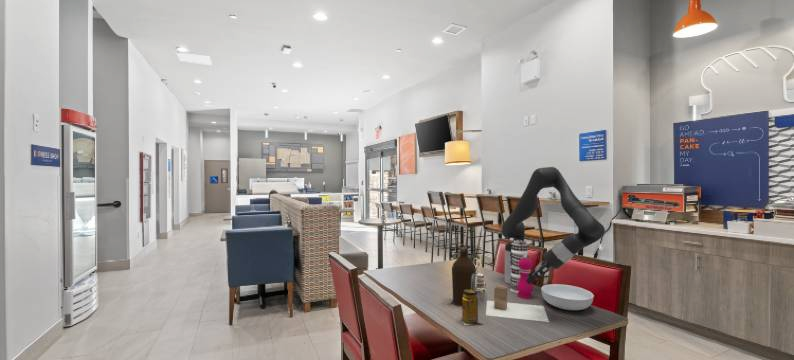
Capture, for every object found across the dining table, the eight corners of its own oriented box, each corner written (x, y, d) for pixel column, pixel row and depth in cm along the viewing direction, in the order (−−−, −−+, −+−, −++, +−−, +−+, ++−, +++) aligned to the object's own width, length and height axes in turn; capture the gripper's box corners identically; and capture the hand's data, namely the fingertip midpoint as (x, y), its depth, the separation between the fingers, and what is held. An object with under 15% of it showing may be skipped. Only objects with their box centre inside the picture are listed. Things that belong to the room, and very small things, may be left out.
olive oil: (449, 306, 159) (450, 249, 158) (453, 298, 169) (454, 245, 168) (474, 309, 155) (475, 251, 155) (476, 301, 165) (477, 246, 165)
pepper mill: (515, 298, 170) (515, 255, 169) (517, 293, 176) (518, 252, 176) (531, 300, 166) (532, 257, 166) (533, 296, 173) (534, 254, 172)
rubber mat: (487, 301, 165) (487, 300, 165) (543, 306, 159) (543, 306, 159) (485, 316, 148) (485, 315, 148) (549, 322, 141) (549, 321, 141)
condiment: (459, 318, 145) (459, 288, 145) (479, 317, 146) (480, 288, 146) (464, 325, 138) (464, 294, 138) (485, 325, 139) (486, 293, 139)
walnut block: (495, 305, 159) (495, 285, 158) (507, 307, 157) (507, 286, 156) (494, 308, 155) (494, 287, 155) (505, 310, 153) (505, 289, 153)
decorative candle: (507, 287, 186) (507, 239, 186) (525, 287, 186) (526, 239, 185) (512, 293, 177) (512, 242, 177) (531, 293, 177) (532, 242, 176)
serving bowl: (552, 315, 149) (552, 298, 149) (534, 298, 170) (534, 283, 170) (603, 316, 149) (603, 299, 149) (579, 299, 170) (579, 284, 170)
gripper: (552, 244, 153) (523, 268, 158) (551, 251, 140) (519, 276, 145) (566, 258, 151) (536, 282, 156) (565, 266, 138) (533, 291, 143)
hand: (528, 279), depth 151 cm, fingers open, 8 cm apart
